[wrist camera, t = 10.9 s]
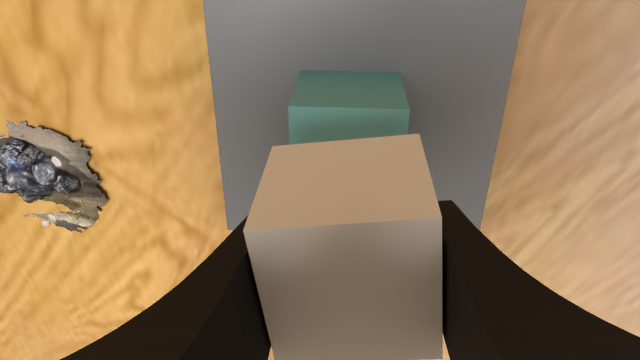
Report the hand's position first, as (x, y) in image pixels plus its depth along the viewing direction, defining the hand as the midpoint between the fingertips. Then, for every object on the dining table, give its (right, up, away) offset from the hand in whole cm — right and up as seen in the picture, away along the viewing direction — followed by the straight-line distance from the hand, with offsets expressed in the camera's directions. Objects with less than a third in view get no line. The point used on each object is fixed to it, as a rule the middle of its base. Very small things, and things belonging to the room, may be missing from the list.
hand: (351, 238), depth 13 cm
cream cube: (0, +1, +1) cm, 2 cm away
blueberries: (-16, +2, +12) cm, 20 cm away
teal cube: (0, +4, +8) cm, 9 cm away
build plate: (+1, +5, +9) cm, 10 cm away
